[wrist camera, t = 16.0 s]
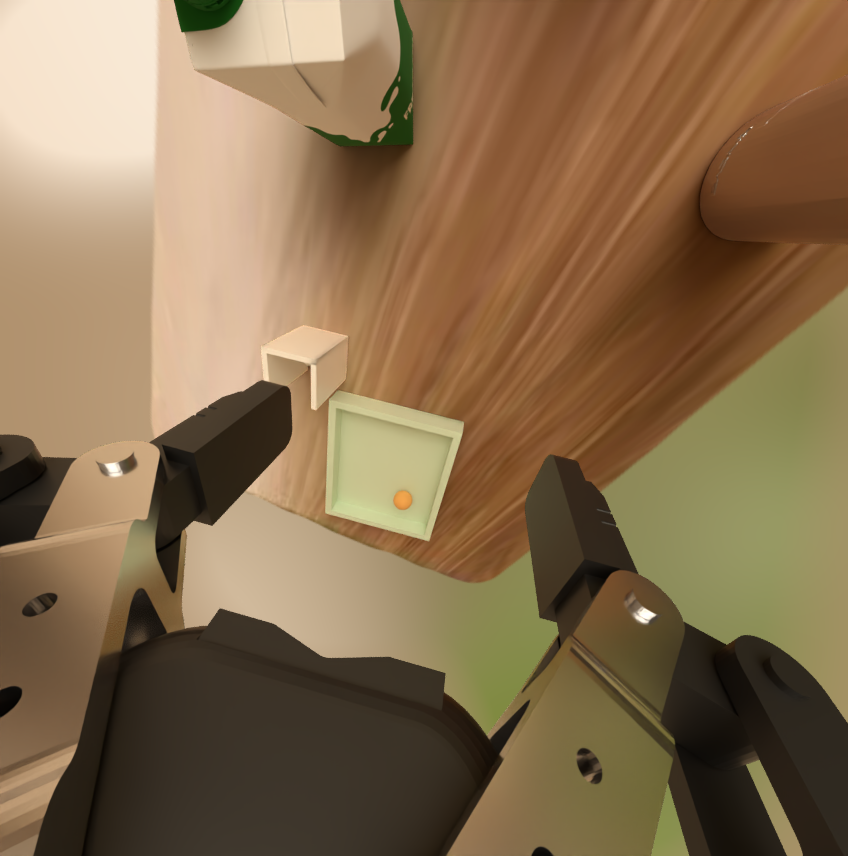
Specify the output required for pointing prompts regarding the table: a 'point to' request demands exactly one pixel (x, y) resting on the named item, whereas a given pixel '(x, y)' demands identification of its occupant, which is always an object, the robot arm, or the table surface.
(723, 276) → the table surface
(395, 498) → the mixing ball
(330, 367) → the mini side table
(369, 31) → the milk carton
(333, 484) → the tray
